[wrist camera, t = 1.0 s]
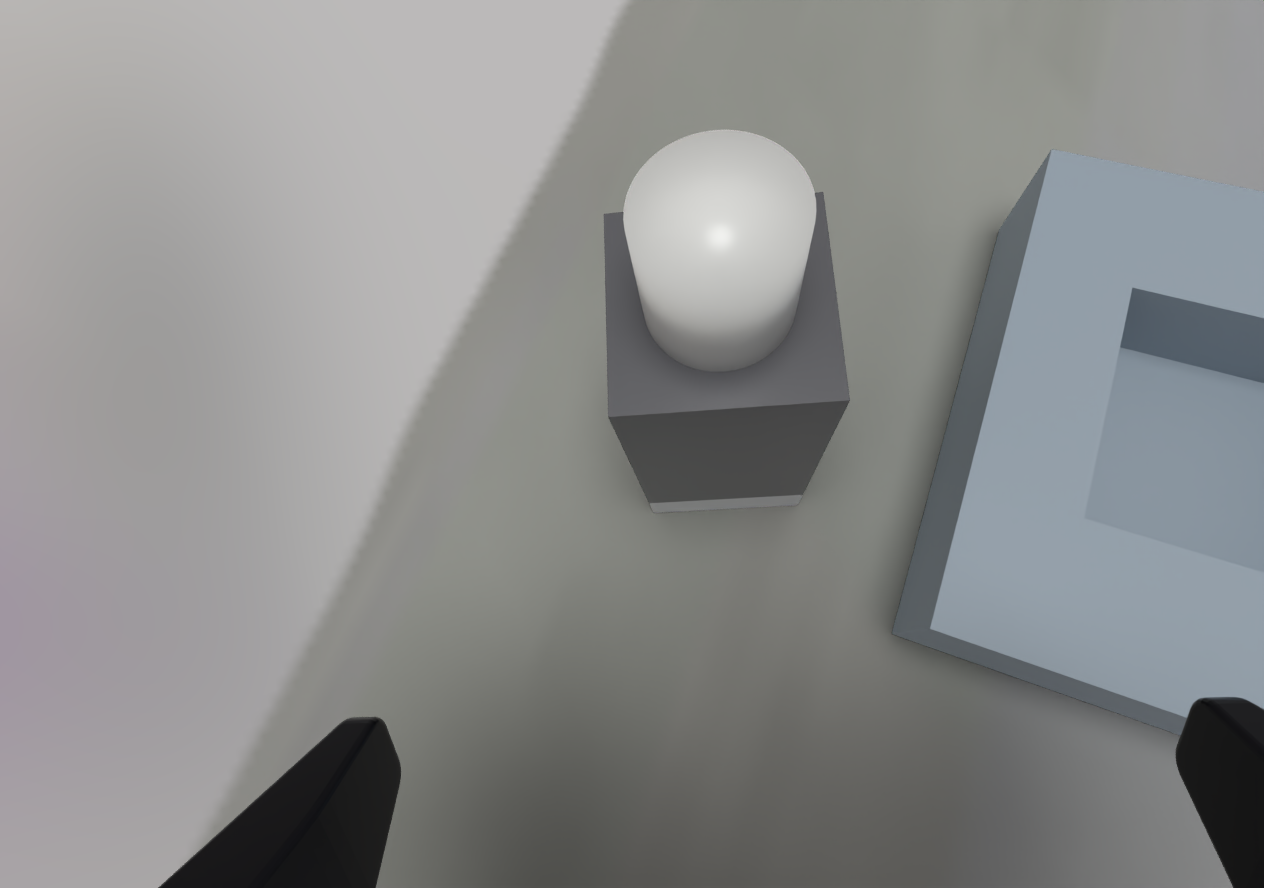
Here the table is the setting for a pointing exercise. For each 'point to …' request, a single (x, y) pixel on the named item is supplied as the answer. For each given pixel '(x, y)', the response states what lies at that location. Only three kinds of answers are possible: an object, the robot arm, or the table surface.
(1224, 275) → the socket block
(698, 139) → the plug
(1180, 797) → the table surface
